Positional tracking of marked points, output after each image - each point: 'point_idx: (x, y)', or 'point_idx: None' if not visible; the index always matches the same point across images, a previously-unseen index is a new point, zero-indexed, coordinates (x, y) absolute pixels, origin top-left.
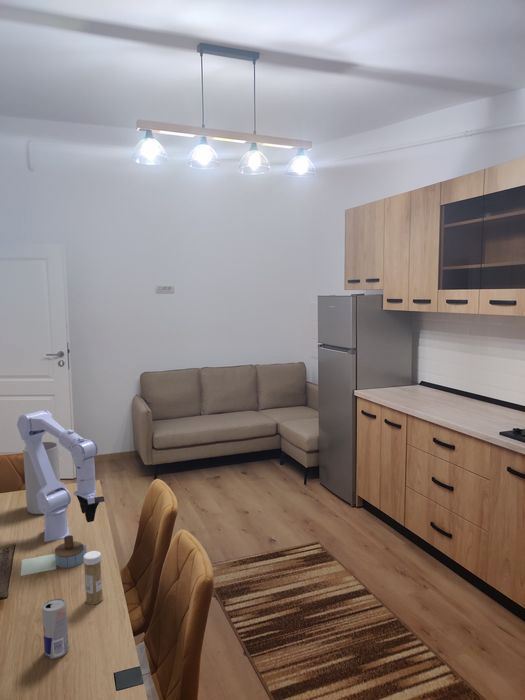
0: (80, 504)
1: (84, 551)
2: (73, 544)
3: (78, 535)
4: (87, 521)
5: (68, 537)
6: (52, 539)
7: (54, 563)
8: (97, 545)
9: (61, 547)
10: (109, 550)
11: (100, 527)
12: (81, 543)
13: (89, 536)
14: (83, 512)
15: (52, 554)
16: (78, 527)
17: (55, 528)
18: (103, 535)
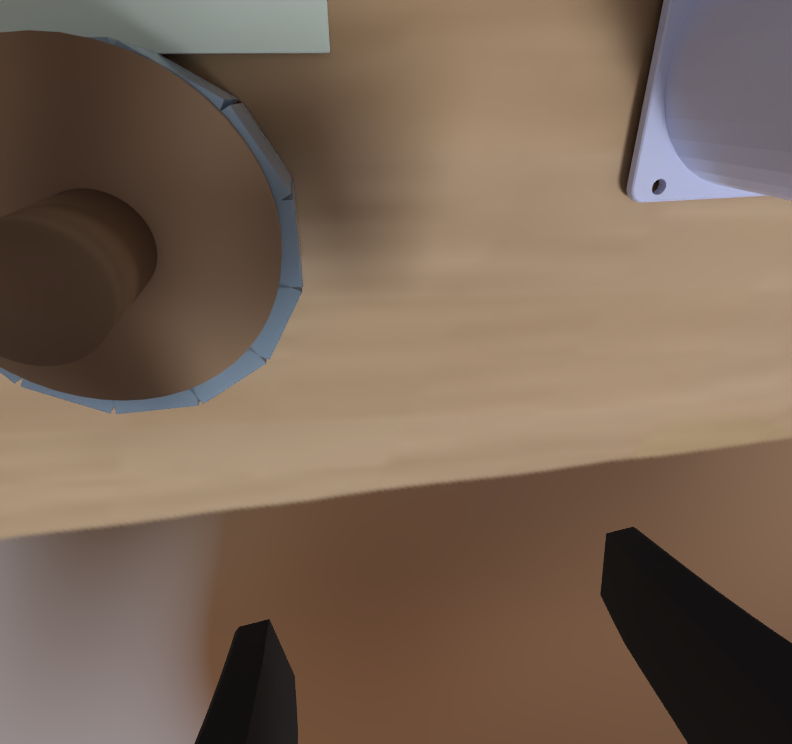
0: (743, 673)
1: (68, 396)
2: (188, 297)
3: (625, 279)
4: (232, 645)
5: (27, 298)
6: (668, 14)
7: (74, 32)
8: (376, 424)
9: (129, 140)
10: (263, 501)
11: (656, 430)
12: (195, 381)
13: (557, 364)
14: (613, 556)
15: (320, 9)
16: (767, 276)
17: (762, 51)
18: (520, 454)
